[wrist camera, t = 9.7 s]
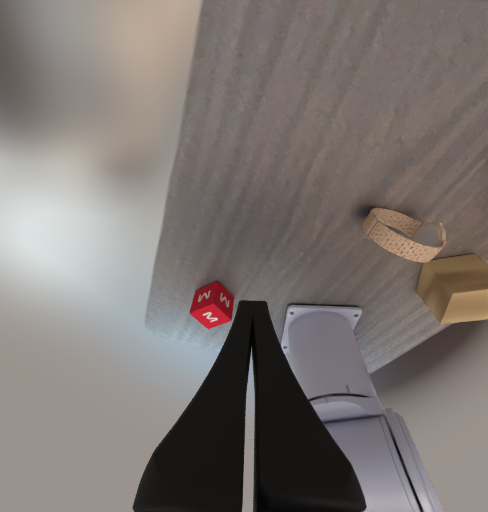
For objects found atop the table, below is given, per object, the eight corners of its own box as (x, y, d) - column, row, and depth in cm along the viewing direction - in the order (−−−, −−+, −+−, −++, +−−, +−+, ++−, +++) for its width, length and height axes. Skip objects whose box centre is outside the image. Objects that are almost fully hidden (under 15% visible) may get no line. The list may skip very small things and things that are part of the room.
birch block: (460, 284, 23) (493, 318, 19) (415, 290, 23) (440, 324, 20) (474, 253, 20) (514, 286, 17) (423, 261, 21) (453, 293, 18)
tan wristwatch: (400, 235, 19) (436, 275, 15) (348, 222, 19) (372, 260, 15) (423, 207, 18) (470, 244, 14) (367, 192, 17) (399, 226, 13)
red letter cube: (234, 297, 25) (231, 320, 23) (212, 306, 26) (208, 329, 24) (217, 280, 24) (213, 303, 21) (195, 290, 25) (189, 313, 22)
